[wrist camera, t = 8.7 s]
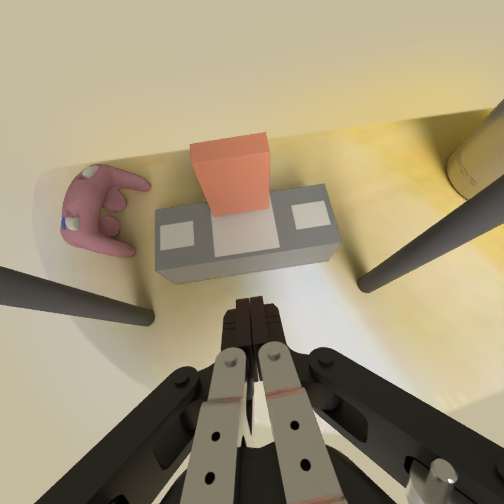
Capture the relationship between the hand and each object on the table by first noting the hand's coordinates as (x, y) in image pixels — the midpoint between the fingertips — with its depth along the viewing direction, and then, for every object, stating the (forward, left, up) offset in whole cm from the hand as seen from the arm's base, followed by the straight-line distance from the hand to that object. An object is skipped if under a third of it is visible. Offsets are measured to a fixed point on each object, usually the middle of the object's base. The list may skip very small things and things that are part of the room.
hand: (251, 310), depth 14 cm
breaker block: (0, -8, -11) cm, 13 cm away
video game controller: (+14, -14, -11) cm, 23 cm away
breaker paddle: (0, -10, -5) cm, 11 cm away
